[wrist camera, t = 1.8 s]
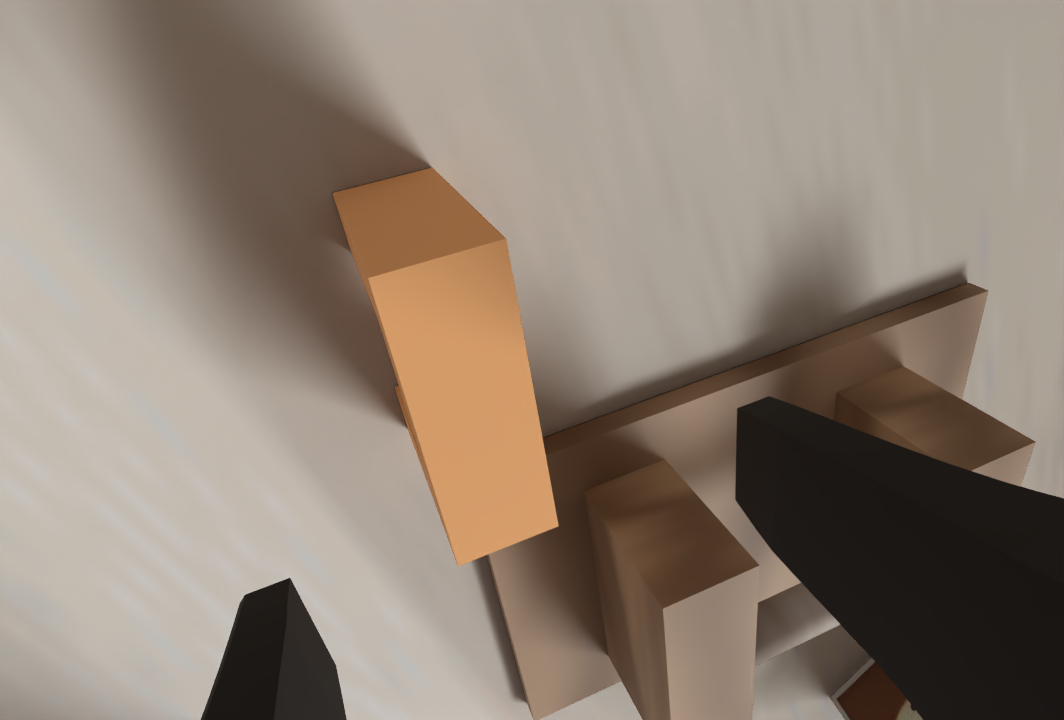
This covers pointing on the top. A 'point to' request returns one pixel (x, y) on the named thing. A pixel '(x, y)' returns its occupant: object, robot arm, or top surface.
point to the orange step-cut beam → (454, 356)
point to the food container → (872, 697)
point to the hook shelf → (720, 516)
